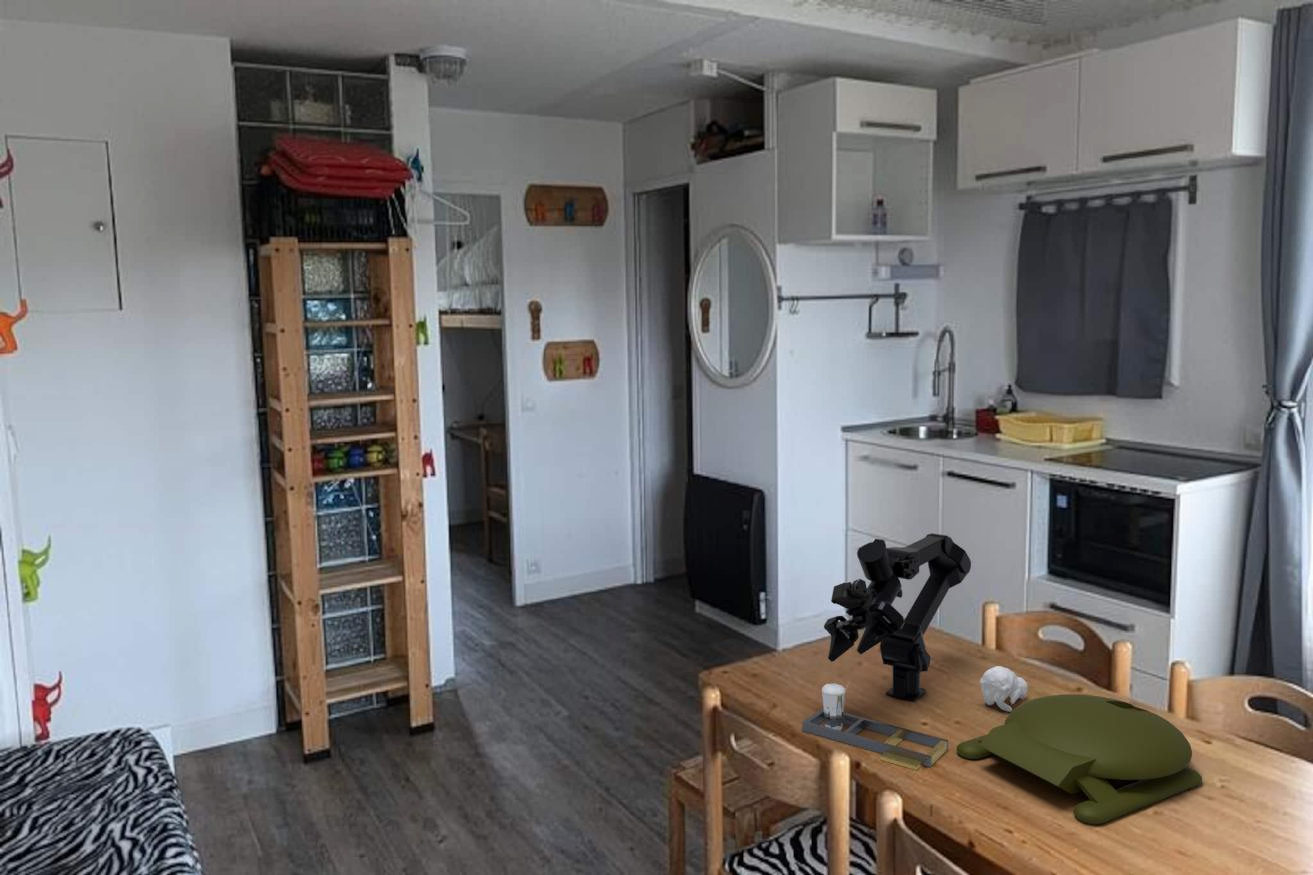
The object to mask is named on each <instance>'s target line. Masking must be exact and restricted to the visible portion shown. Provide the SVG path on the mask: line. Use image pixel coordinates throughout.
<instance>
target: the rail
mask: <svg viewBox="0 0 1313 875" xmlns="http://www.w3.org/2000/svg"><path fill="white" fill-rule="evenodd" d="M823 721H825V720H824V707H821V708H820V709H819V710H817V711H816V712H815V713H814V714H812V715H811V716H809V717H808V718H806V719H805V720H803V721H802V732H805V733H809V734H811V735H814V736H818V737H821V738H825V739H829V740H833V741H837V742H840V743H843V744H846V745H851V746H854V747H858V748H861V749H864V750H868V751H871V752H875V753H879V754H881V755H880V757H879V759H880V761H884V762H887V763H890V764H895V765H897V766H901V767H904V768H908V769H912V770H914V771H918V770H919V768H920V767H921V766H924V767H927V768H931V767H932V766H933V765H934V764H935V763H936V762H937V761H938V760H939V759H940V758H941V757H942V756H943V755H944V754H945V753H946V752H947V751H948V750H949V739H945V738H941V737H937V736H934V735H931V734H926V733H922V732H920V731H919V732H918V731H915V730H912V729H907V728H904V727H900V726H895V725H893V724H888V723H886V722H881V721H878V720H873V719H869V718H866V717H862V716H858V715H854V714H851V713H847V712H844V713H843V724H846V725H849V727H848V728H847V729H845V730H844V731H842V730H841V731H839V730H836V729H832V728H828V727H825V725H821V724H820V723H822V722H823ZM864 729H865V730H867V731H868V730H869V731H872V732H876V733H880V734H883V735H885V736H890V737H889V738H887V739H886V740H885V741H884V742H882V741H878V740H875V739H871V738H867V737H864V736H861V735H859V733H860V732H861V731H863V730H864ZM903 740H905V741H909V742H913V743H916V744H919V745H923V746H927V747H931V750H929V751H928V753H921V752H918V751H915V750H912V749H911V750H910V749H907V748H903V747H901V746H898V745H899V743H900V744H901V742H902V741H903Z"/></svg>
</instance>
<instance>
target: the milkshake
mask: <svg viewBox="0 0 1313 875" xmlns="http://www.w3.org/2000/svg"><path fill="white" fill-rule="evenodd" d="M850 682H851V681H849V682H848V683H847V686H846V687H844V686H843V685H841V684H838V683H836V682H832V683H826V684H824V686H823V687H822V688H821V695H822V704H823V707H824V720H823V721H824V726H825V727H828V728H832V729H836V730H839V731H842V730H843V724H844V723H843V713H845V711H844V710H845V701H846V700H845V699H846V691H847V689H848V686H849V685H850ZM823 707H822V708H823Z"/></svg>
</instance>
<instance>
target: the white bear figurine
mask: <svg viewBox="0 0 1313 875" xmlns="http://www.w3.org/2000/svg"><path fill="white" fill-rule="evenodd" d="M979 684H980V689H981V690H980V691H981V693H982V695H983V700H984V702H985V704H986V705H988V706H992V705H994V704H995V703H996V705H997V707H998V708H1000V710H1002V711H1005V712H1009V713H1011V712H1012V710H1013V708H1012V707H1011V706H1010V705H1009V704H1007V703H1006V702H1005V700H1006V699H1007V698H1010V700H1009V702H1010V703H1011V705H1013V704H1015V702H1016V701H1017V700H1018V699H1022V701H1024V699H1025V698H1026V697H1027V691H1028V683H1027V682H1026V680H1025V679H1024V678H1023V677H1020V676H1017V675H1016V674H1015V672H1013V670H1011V669H1009V668H1007V667H1004V666H1001V665H996V666H993V667H991V668H989V669H987V670H986V671H985V672H984V673H983V676H982V677H981V678H980V679H979Z"/></svg>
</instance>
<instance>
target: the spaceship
mask: <svg viewBox="0 0 1313 875" xmlns="http://www.w3.org/2000/svg"><path fill="white" fill-rule="evenodd" d="M956 751H957V754H958V755H959V756H961V757H962V758H965V759H968V760H980V759H981V758H986V757H988V756H991V755H995V756H997V757H999V758H1000V759H1003V760H1005V761H1006V762H1008V763H1011V764H1013V765H1015V766H1016V767H1018V768H1021V769H1022V770H1024V771H1026V772H1028V773H1030V774H1032V775H1034V776H1036V777H1037V778H1040V779H1042V780H1043V781H1045V782H1047V783H1049V784H1052V785H1053V786H1055V787H1057V788H1059V789H1060V790H1063V791H1064V792H1067V793H1069V794H1071V795H1075V794H1076V793H1079V792H1083V793H1084V794H1085V796H1086V797H1088V799H1087V800H1084V801H1082V802H1080V803H1077V804H1076V805H1075V806H1074V807H1073V814H1074V816H1075V818H1077V820H1079V821H1081V822H1083V823H1085V824H1089V825H1097V826H1098V825H1101V824H1104V823H1106V822H1109V821H1112V820H1115V819H1117V818H1119V817H1122V816H1124V815H1127V814H1129V813H1132V812H1134V811H1137V810H1140V809H1142V808H1145V807H1148V806H1150V805H1152V804H1155V803H1157V802H1160V801H1161V800H1164V799H1168V798H1169V797H1172V796H1174V795H1177V794H1179V793H1182V792H1185V791H1187V790H1189V789H1192V788H1194V787H1196V786H1199V785H1200V784H1201V783H1202V781H1203V777H1202V775H1201V774H1200V773H1199V772H1198V771H1197V770H1195V769H1193V768H1190V767H1188V765H1189V764H1190V763H1191V761H1192V757H1193V750H1192V747H1191V744H1190V742H1189V740H1188V739H1187V738H1186V736H1185V735H1184V734H1183V732H1182V731H1181V730H1180V729H1178V728H1177V727H1176V726H1175V725H1174V724H1172V723H1171V722H1170V721H1169V720H1167V719H1165V718H1164V717H1162V716H1161V715H1159V714H1157V713H1155V712H1152V711H1149V710H1147V709H1144V708H1142V707H1139V706H1134V705H1133V704H1132V703H1129V702H1126V701H1122V700H1119V699H1115V698H1110V697H1105V696H1100V695H1099V696H1098V695H1092V694H1077V693H1076V694H1075V693H1073V694H1072V693H1070V694H1069V693H1068V694H1067V693H1066V694H1063V693H1062V694H1056V695H1055V694H1054V695H1047V696H1043V697H1042V696H1041V697H1037V698H1034V699H1031V700H1030V699H1029V701H1025V702H1024V703H1022V704H1020V705H1018V706H1017V707H1015V708H1012V711H1011V712H1009V714H1008V716H1007V717H1006V718H1005V720H1004V724H1001V725H999V726H995V727H993V728H992V729H990V731H988V733H987V734H985V735H980V736H977V737H974V738H972V739H969V740H965V741H962V742H960V743H958V744H957V745H956ZM1107 779H1109V780H1124V781H1131V780H1133V781H1135V780H1137V781H1135V782H1132V783H1130V784H1127V785H1124V786H1122V787H1120V788H1117V789H1115V788H1114V786H1112V785H1111V783H1110V782H1109V781H1108V780H1107Z"/></svg>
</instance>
